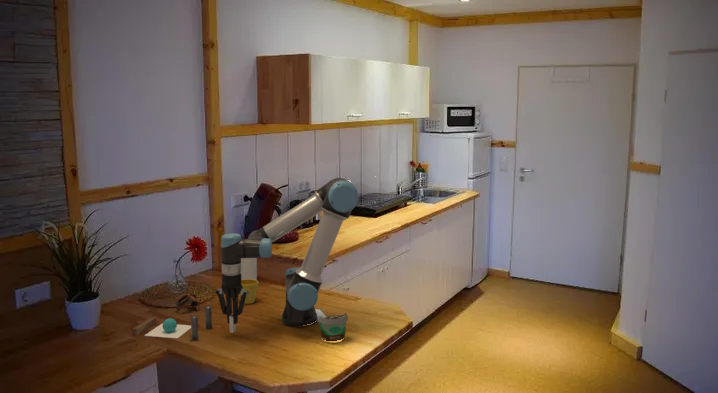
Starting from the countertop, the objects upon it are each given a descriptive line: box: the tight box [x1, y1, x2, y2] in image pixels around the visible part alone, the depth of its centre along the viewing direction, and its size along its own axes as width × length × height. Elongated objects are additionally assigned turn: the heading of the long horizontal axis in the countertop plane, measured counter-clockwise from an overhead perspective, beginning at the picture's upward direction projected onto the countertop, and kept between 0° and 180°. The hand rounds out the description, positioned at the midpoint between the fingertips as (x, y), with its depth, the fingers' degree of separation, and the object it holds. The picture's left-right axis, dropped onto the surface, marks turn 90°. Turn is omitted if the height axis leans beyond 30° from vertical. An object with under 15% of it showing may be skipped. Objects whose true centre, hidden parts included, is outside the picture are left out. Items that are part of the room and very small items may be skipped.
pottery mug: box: [174, 293, 201, 312], centre depth 263 cm, size 12×9×8 cm
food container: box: [317, 311, 349, 341], centre depth 227 cm, size 12×6×10 cm, turn 117°
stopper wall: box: [132, 316, 157, 336], centre depth 238 cm, size 2×14×2 cm, turn 170°
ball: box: [162, 317, 177, 332], centre depth 235 cm, size 6×6×6 cm
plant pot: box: [238, 279, 260, 305], centre depth 274 cm, size 10×10×10 cm
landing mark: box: [144, 322, 191, 339], centre depth 236 cm, size 14×14×1 cm
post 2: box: [204, 305, 213, 330], centre depth 239 cm, size 3×3×9 cm
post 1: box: [190, 315, 199, 341], centre depth 227 cm, size 3×3×9 cm
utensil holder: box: [241, 258, 258, 281], centre depth 305 cm, size 15×15×18 cm
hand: (232, 331), depth 231 cm, fingers closed
